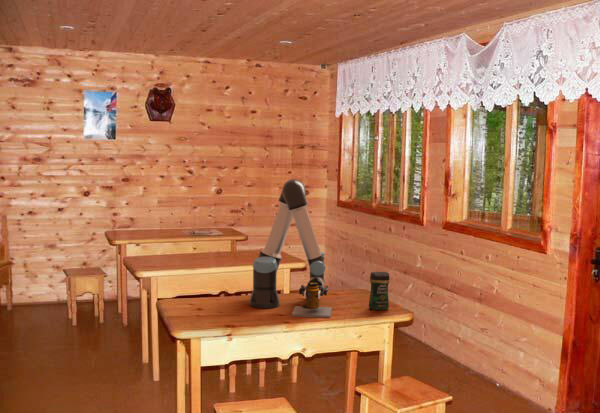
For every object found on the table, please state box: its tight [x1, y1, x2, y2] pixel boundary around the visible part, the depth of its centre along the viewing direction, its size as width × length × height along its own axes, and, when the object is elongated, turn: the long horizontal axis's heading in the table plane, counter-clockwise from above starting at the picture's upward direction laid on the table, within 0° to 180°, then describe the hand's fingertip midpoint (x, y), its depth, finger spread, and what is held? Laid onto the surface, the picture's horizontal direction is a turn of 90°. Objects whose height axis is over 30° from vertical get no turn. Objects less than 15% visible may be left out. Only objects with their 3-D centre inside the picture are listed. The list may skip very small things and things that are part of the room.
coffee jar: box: [368, 271, 391, 311], centre depth 321 cm, size 10×8×19 cm
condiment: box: [298, 281, 322, 310], centre depth 311 cm, size 7×8×12 cm
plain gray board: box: [291, 305, 333, 319], centre depth 312 cm, size 18×16×1 cm
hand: (311, 295), depth 306 cm, fingers closed on condiment, 6 cm apart
